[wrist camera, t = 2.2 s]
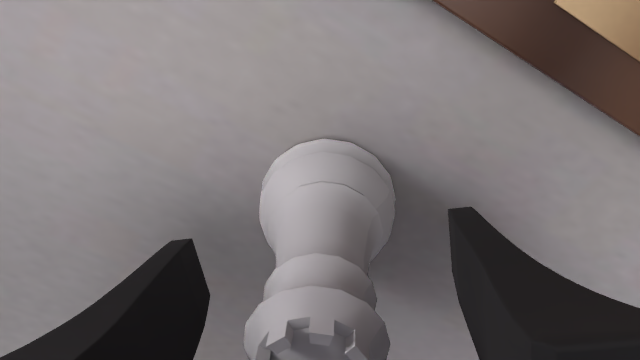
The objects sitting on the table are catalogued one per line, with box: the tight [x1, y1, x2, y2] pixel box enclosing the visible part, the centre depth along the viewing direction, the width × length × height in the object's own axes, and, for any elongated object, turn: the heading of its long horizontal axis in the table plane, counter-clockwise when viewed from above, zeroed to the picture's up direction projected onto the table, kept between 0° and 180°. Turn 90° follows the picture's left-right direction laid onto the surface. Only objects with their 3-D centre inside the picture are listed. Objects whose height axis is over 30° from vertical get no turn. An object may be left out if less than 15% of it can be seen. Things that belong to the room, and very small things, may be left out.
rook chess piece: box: [243, 138, 396, 360], centre depth 15 cm, size 4×4×8 cm
